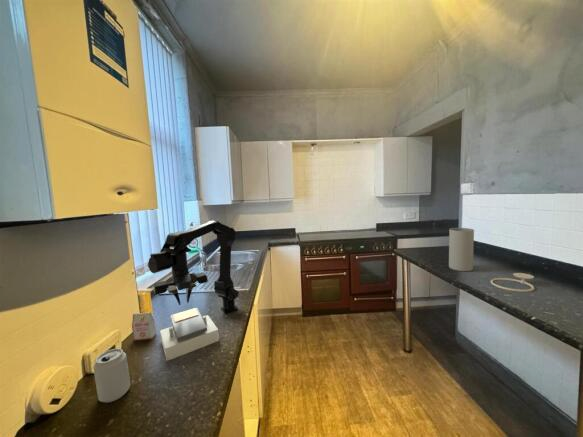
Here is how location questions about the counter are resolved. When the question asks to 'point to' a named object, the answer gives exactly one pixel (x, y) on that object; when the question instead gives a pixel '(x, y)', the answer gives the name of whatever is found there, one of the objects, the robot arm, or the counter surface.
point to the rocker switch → (188, 324)
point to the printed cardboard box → (143, 326)
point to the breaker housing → (188, 340)
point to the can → (111, 375)
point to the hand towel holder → (519, 275)
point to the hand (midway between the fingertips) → (183, 303)
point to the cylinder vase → (461, 249)
